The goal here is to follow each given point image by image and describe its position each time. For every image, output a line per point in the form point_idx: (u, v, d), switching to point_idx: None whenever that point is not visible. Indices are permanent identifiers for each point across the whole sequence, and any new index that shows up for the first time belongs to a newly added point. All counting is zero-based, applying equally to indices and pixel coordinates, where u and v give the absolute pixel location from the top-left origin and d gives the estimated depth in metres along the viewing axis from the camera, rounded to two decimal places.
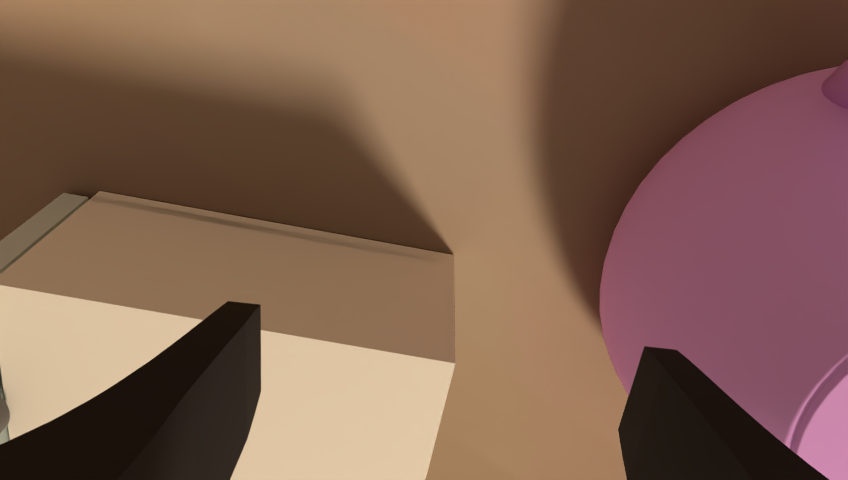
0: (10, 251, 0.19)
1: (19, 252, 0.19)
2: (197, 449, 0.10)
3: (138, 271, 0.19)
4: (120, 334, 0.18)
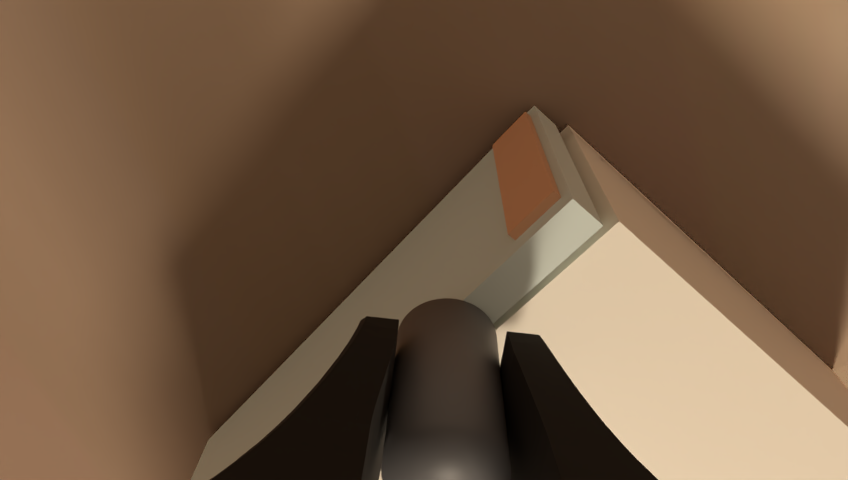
0: (573, 173, 0.14)
1: (580, 179, 0.14)
2: (370, 467, 0.10)
3: (695, 272, 0.15)
4: (693, 347, 0.14)
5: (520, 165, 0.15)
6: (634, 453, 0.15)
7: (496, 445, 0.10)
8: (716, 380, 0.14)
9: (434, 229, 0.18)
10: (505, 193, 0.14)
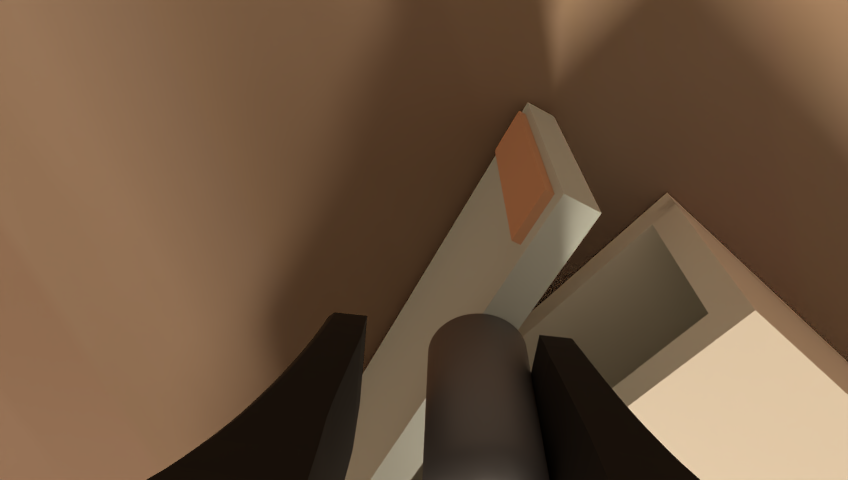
0: (569, 164, 0.14)
1: (578, 168, 0.14)
2: (330, 463, 0.10)
3: (807, 345, 0.16)
4: (815, 422, 0.14)
5: (517, 167, 0.15)
6: None
7: (526, 454, 0.10)
8: (833, 451, 0.15)
9: (456, 243, 0.18)
10: (507, 198, 0.14)
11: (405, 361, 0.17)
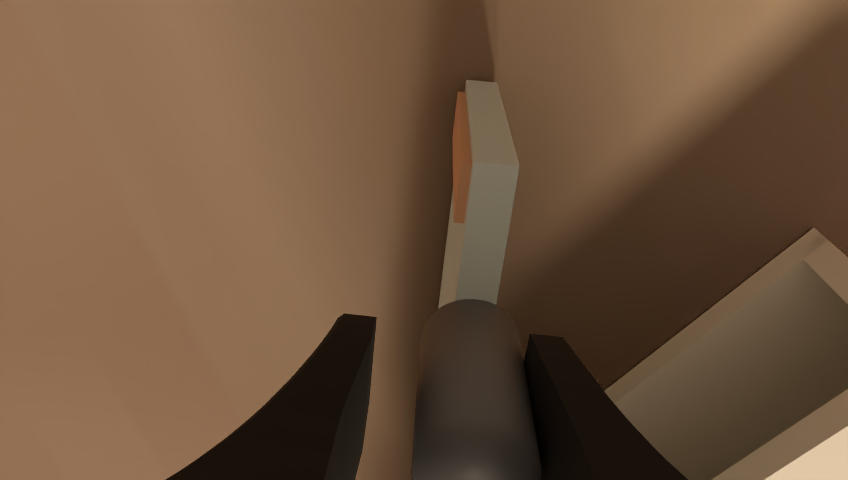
0: (496, 127, 0.14)
1: (507, 128, 0.14)
2: (342, 464, 0.10)
3: None
4: None
5: (456, 148, 0.15)
6: None
7: (494, 428, 0.10)
8: None
9: (449, 238, 0.18)
10: (453, 181, 0.14)
11: None
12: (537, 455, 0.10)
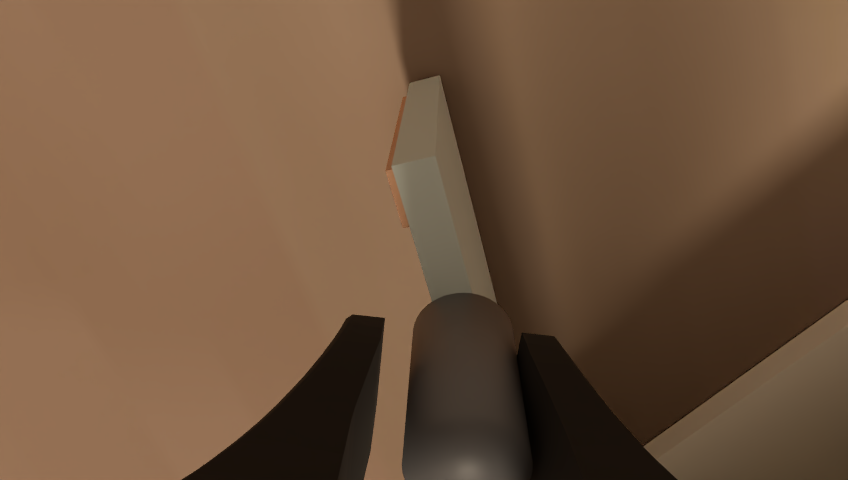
0: (424, 122, 0.14)
1: (435, 119, 0.14)
2: (352, 465, 0.10)
3: None
4: None
5: None
6: None
7: (461, 419, 0.10)
8: None
9: None
10: None
11: None
12: (517, 433, 0.10)
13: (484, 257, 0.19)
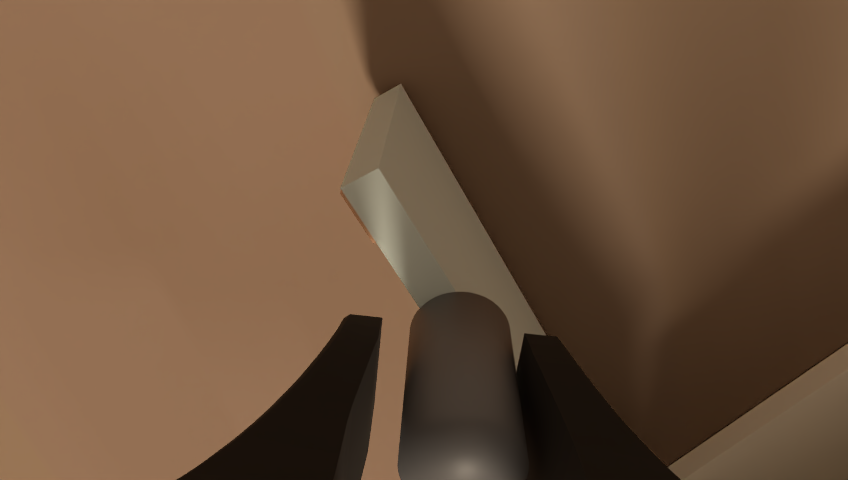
0: (377, 136, 0.14)
1: (387, 130, 0.14)
2: (348, 465, 0.10)
3: None
4: None
5: None
6: None
7: (440, 421, 0.10)
8: None
9: None
10: None
11: None
12: (500, 424, 0.10)
13: (493, 249, 0.19)
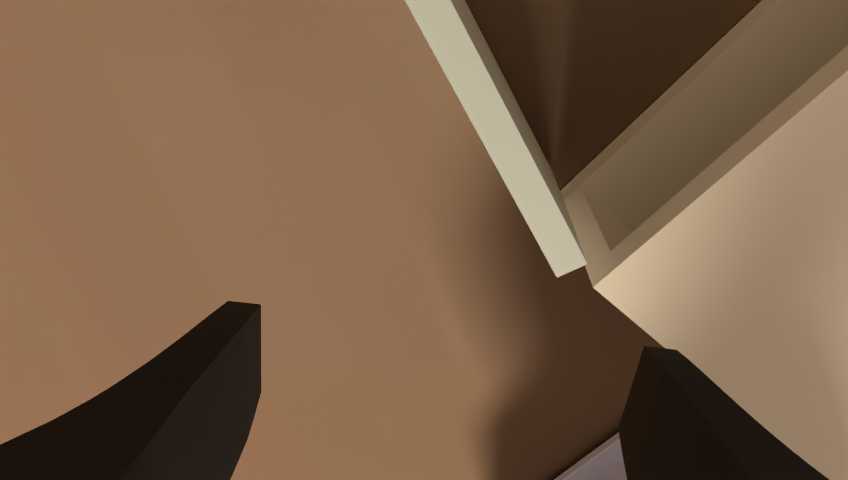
0: None
1: None
2: (197, 449, 0.10)
3: None
4: None
5: None
6: None
7: None
8: None
9: None
10: None
11: None
12: None
13: None
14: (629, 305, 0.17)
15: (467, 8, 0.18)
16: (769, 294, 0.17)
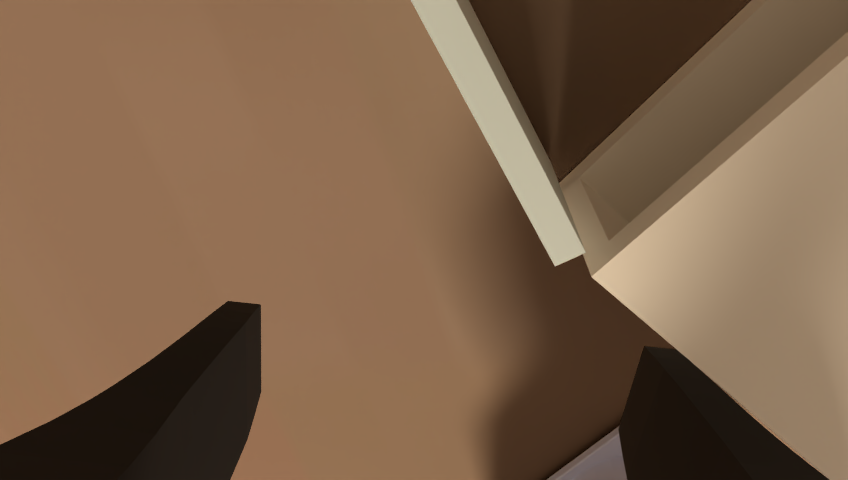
0: None
1: None
2: (197, 449, 0.10)
3: None
4: None
5: None
6: None
7: None
8: None
9: None
10: None
11: None
12: None
13: None
14: (627, 295, 0.17)
15: None
16: (768, 284, 0.17)
